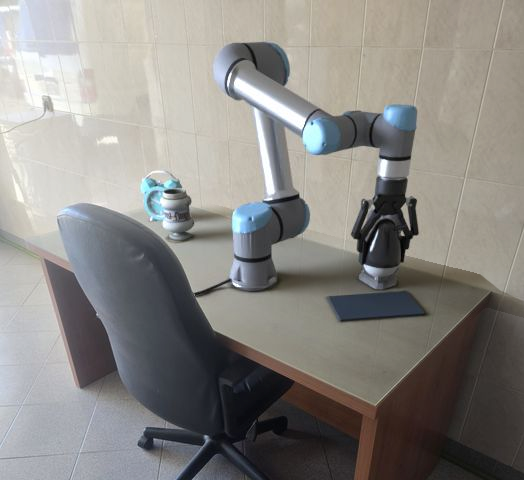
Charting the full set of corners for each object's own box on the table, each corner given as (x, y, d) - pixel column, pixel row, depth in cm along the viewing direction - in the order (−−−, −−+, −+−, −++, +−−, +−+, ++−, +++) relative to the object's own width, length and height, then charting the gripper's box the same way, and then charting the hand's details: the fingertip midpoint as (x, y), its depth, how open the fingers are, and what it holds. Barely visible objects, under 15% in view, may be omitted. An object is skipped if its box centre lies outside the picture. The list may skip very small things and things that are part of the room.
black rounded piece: (391, 284, 122) (400, 227, 113) (354, 275, 127) (360, 220, 118) (404, 270, 129) (413, 215, 121) (368, 263, 134) (375, 210, 125)
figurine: (381, 293, 140) (392, 210, 126) (352, 276, 151) (360, 197, 137) (405, 286, 144) (420, 205, 130) (376, 270, 154) (386, 193, 140)
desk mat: (340, 321, 126) (340, 319, 126) (327, 298, 138) (328, 296, 138) (425, 315, 129) (425, 313, 128) (405, 292, 140) (406, 290, 140)
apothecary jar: (159, 236, 184) (152, 189, 174) (186, 230, 190) (181, 184, 180) (173, 245, 175) (167, 197, 166) (201, 238, 181) (197, 191, 171)
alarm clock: (141, 222, 199) (133, 173, 188) (149, 215, 207) (142, 167, 196) (180, 223, 196) (175, 174, 185) (187, 216, 204) (182, 168, 193)
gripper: (430, 170, 118) (415, 254, 130) (342, 175, 116) (336, 259, 128) (443, 178, 112) (427, 264, 124) (351, 182, 109) (343, 270, 122)
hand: (380, 261), depth 126 cm, fingers closed on black rounded piece, 10 cm apart
